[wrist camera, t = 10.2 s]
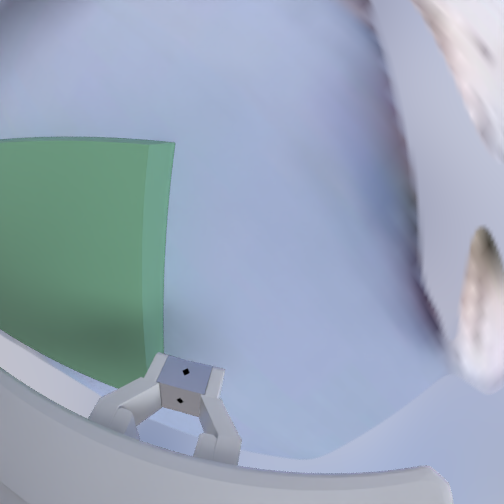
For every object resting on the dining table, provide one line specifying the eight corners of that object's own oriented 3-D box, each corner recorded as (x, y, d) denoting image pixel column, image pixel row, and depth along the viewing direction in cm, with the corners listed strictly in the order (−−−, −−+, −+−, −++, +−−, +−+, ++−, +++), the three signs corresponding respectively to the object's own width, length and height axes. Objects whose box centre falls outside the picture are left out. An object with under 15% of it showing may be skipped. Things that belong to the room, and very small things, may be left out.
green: (-34, 143, 16) (-79, 155, 10) (175, 142, 15) (115, 148, 9) (-16, 292, 23) (-48, 317, 17) (164, 370, 22) (137, 428, 16)
